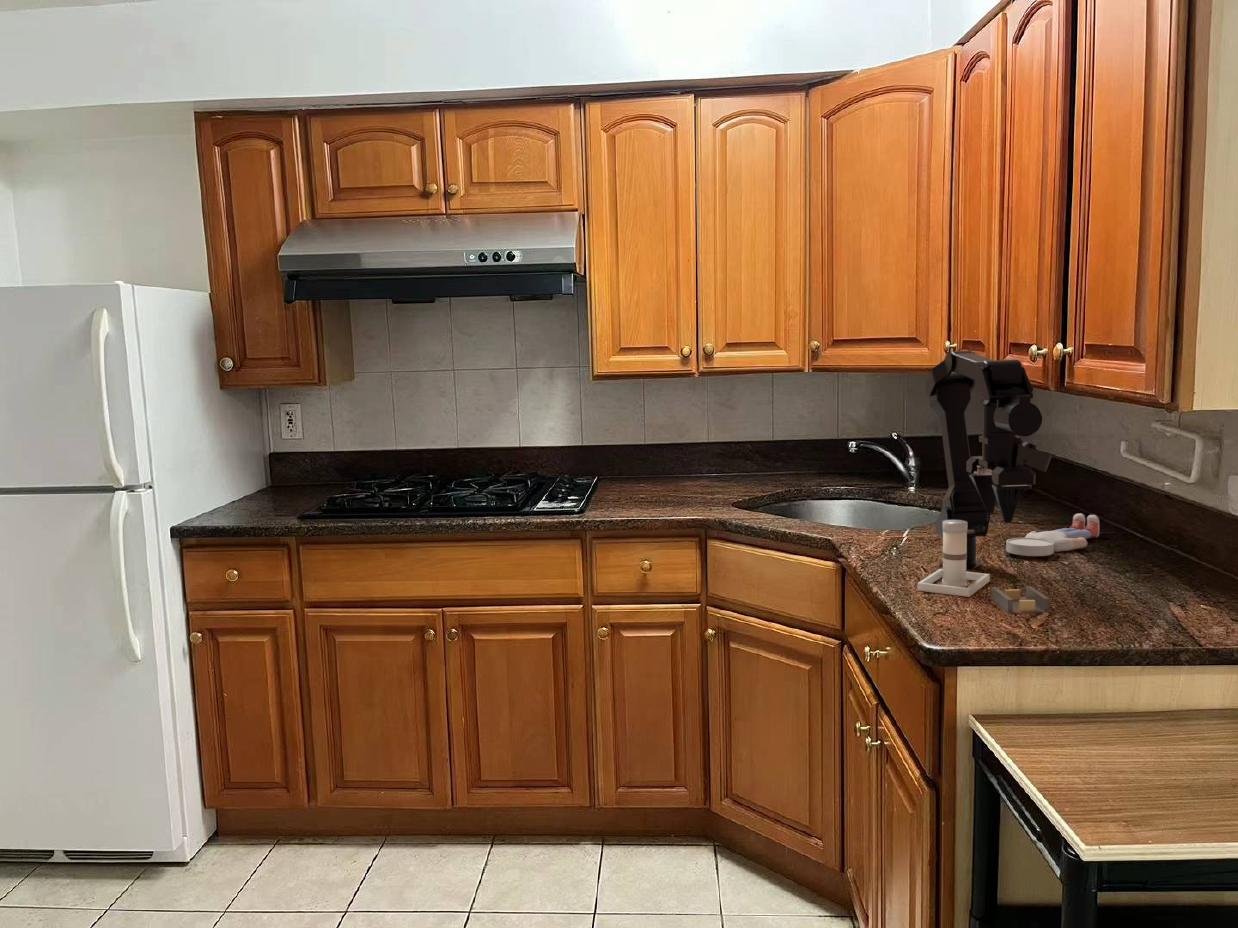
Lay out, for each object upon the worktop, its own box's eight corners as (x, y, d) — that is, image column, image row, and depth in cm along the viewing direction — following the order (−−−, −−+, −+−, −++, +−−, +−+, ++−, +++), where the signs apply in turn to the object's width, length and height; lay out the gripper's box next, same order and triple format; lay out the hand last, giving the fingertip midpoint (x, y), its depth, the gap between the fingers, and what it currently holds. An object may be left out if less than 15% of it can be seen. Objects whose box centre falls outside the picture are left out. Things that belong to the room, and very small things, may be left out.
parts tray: (940, 581, 181) (940, 568, 181) (989, 587, 176) (989, 574, 175) (917, 596, 171) (917, 583, 171) (969, 603, 166) (969, 589, 166)
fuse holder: (988, 604, 165) (989, 586, 164) (1030, 603, 164) (1030, 585, 164) (1007, 619, 156) (1007, 600, 155) (1051, 618, 155) (1052, 599, 155)
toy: (1058, 510, 219) (990, 527, 200) (1116, 517, 210) (1050, 535, 190) (1057, 535, 220) (989, 555, 201) (1115, 543, 210) (1049, 564, 191)
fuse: (951, 583, 176) (952, 518, 175) (971, 587, 173) (972, 522, 171) (937, 587, 174) (937, 522, 172) (956, 592, 170) (957, 525, 169)
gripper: (1068, 434, 161) (1066, 526, 163) (1026, 424, 180) (1025, 507, 182) (1000, 436, 162) (999, 528, 164) (965, 427, 180) (965, 509, 182)
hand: (998, 517), depth 173 cm, fingers open, 9 cm apart
